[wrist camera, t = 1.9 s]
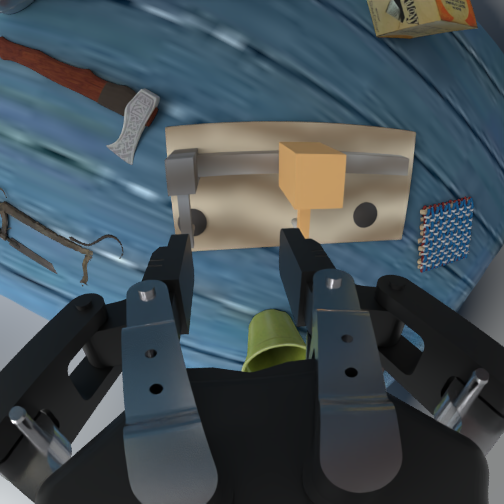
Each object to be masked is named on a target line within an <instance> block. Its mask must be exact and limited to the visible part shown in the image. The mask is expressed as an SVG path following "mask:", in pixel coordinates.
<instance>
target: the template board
mask: <svg viewBox="0 0 504 504" xmlns="http://www.w3.org/2000/svg"><path fill="white" fill-rule="evenodd" d="M165 132H166V146H167V158H166V159H165V169H166V179H167V189H168V196H171V200H172V209H173V217H174V225H175V233H176V234H189V235H190V241H191V250H192V251H205V250H222V249H239V248H256V247H273V246H280V230H281V229H282V228H294V227H293V225H292V223H291V220H292V219H293V218H297V212H298V210H294V208H293V206H292V205H291V203H290V202H289V200H288V199H287V197H286V196H285V194H284V193H283V191H282V190H281V189H280V187H279V142H320V143H322V144H324V145H326V146H329V147H331V148H333V149H335V150H337V151H340V152H342V153H344V154H346V171H345V185H344V197H343V208H336V209H311V212H310V229H309V238H312V239H313V240H315V241H316V242H318V243H320V244H325V243H343V242H362V241H380V240H399V239H401V238H402V233H403V228H404V222H405V216H406V210H407V204H408V197H409V191H410V183H411V175H412V167H413V158H414V147H415V135H416V132H413V131H408V130H400V129H392V128H384V127H375V126H365V125H353V124H340V123H322V122H293V121H253V122H224V123H207V124H193V125H181V126H171V127H166V128H165Z"/></svg>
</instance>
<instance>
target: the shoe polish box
mask: <svg viewBox="0 0 504 504" xmlns="http://www.w3.org/2000/svg"><path fill="white" fill-rule="evenodd" d="M367 3H368V6H369V10H370V13H371V17H372V21H373V25H374V28H375V33H376V37H390V38H409V39H411V38H416V37H421V36H427V35H432V34H438V33H444V32H451V31H458V30H466V29H475V28H478V27H477V23H476V19H475V15H474V12H473V8H472V5H471V1H470V0H367Z"/></svg>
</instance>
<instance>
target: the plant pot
mask: <svg viewBox="0 0 504 504" xmlns="http://www.w3.org/2000/svg"><path fill="white" fill-rule="evenodd" d="M305 359H306V344H305V343H304V341H303V339H302V337H301V336H300V334H299V332H298V330H297V329H296V327H295V325H294V323H293V321H292V319H291V317H290V316H289V315H288V314H287V313H286V312H282V311H278V310H275V309H270V310H265V311H262V312H260V313H258V314H257V315H255V316H254V317H253V319H252V321H251V323H250V325H249V334H248V351H247V357H246V360H245V363H244V365H243V367H242V372H255V371H259V370H262V369H265V368H269V367H272V366H275V365H278V364H282V363H285V362H288V361H297V360H305Z"/></svg>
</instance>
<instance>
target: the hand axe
mask: <svg viewBox="0 0 504 504" xmlns="http://www.w3.org/2000/svg"><path fill="white" fill-rule="evenodd" d="M0 57H1V58H2V59H3V60H11V61H14V62H17V63H19V64H22V65H24V66H26V67H28V68H30V69H32V70H34V71H36V72H38V73H39V74H41V75H43V76H45V77H47V78H48V79H50V80H52V81H54V82H56V83H58V84H60V85H62V86H64V87H67V88H69V89H71V90H73V91H75V92H77V93H80V94H82V95H84V96H86V97H88V98H90V99H92V100H94V101H96V102H97V103H99V104H100V105H102V106H104V107H106V108H108V109H110V110H112V111H114V112H116V113H118V114H120V115H122V116H124V124H123V129H122V133H121V135H120V137H119V139H118V140H117V141H116V142H115V143H113V144H111V145H106V146H107V147H108V148H109V149H110V150H111V151H112V152H114V153H115V154H116V155H117V156H119V157H120V158H122V159H123V160H124V161H126V162H127V163H129V164H131V165H132V163H133V157H134V153H135V150H136V147H137V144H138V141H139V139H140V137H141V134H142V132H143V130H144V128H145V127H146V126H148V127H149V126H150V124H151V123H152V121H153V119H154V118H155V116H156V114H157V112H158V108H157V106H158V104H159V100H160V97H159V96H157V95H156V94H154V93H152V92H151V91H149V90H147V89H141V90H140V91H139V92H138V93H136V92H135V91H133V90H132V89H131V88H129V87H128V86H123V85H117V84H114V83H111V82H108V81H105V80H103V79H101V78H99V77H97V76H96V75H95V74H94V73H93V72H92V71H91V70H89V69H81V68H77V67H74V66H71V65H68V64H65V63H63V62H60V61H58V60H56V59H54V58H52V57H50V56H48V55H46V54H44V53H43V52H41V51H39V50H35V49H31V48H28V47H25V46H22V45H19V44H16V43H13V42H10V41H8V40H7V39H5V38H4V37H3V36H2V37H0Z"/></svg>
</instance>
